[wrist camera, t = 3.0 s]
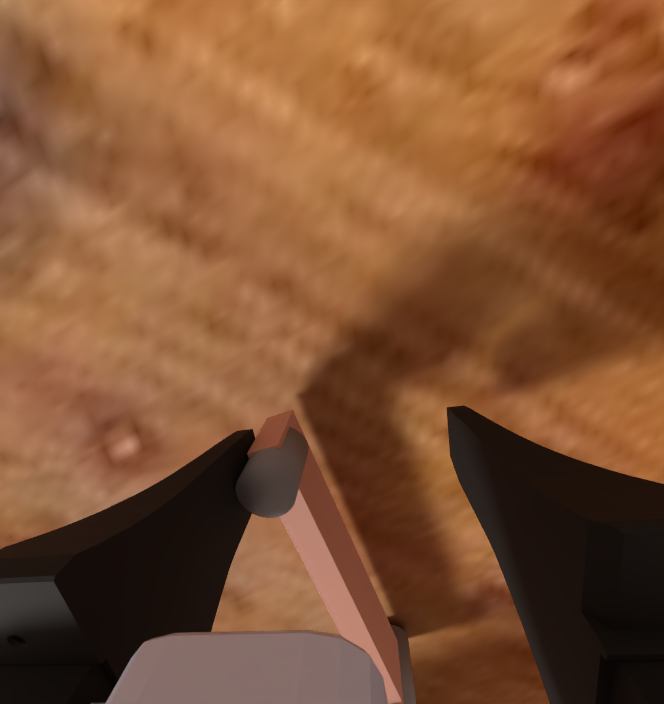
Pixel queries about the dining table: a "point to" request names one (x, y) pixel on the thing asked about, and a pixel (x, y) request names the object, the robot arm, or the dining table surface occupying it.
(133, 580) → the robot arm
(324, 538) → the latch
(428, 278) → the dining table surface
